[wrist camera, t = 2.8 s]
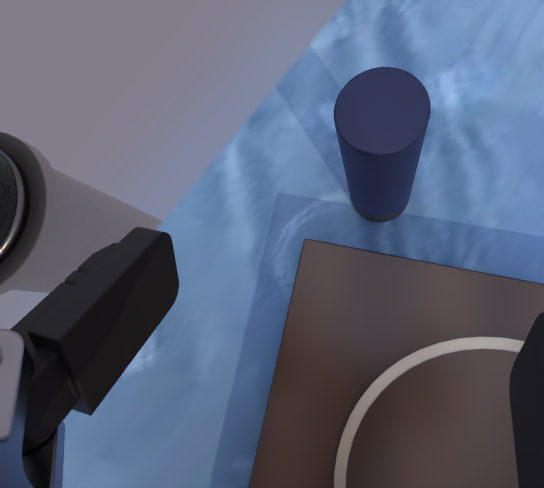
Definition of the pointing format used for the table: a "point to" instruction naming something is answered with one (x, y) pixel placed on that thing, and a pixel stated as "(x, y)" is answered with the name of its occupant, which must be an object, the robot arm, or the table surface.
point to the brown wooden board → (394, 375)
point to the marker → (381, 138)
